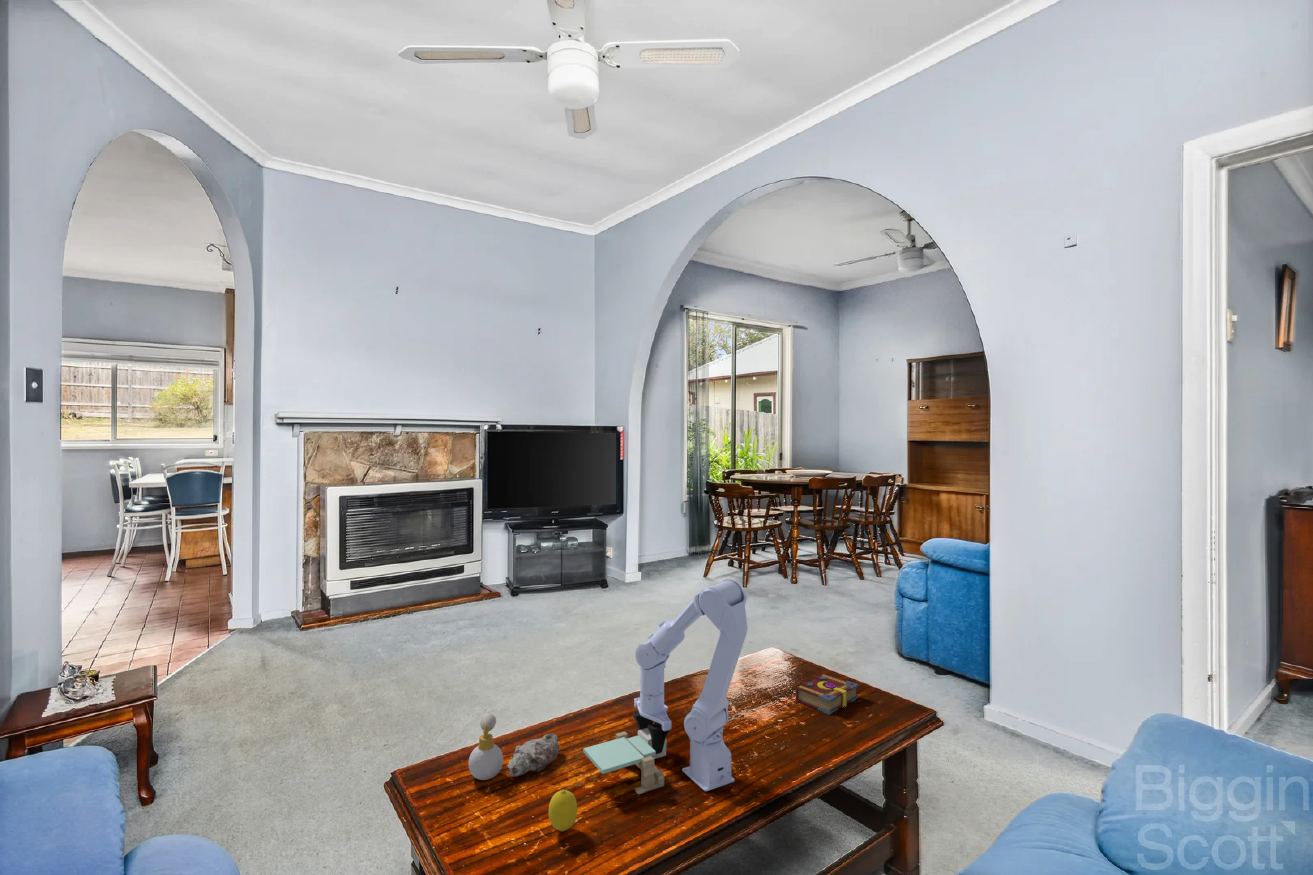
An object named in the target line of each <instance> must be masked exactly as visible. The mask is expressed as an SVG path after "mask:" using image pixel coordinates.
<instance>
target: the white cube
mask: <svg viewBox="0 0 1313 875" xmlns="http://www.w3.org/2000/svg"><path fill="white" fill-rule="evenodd" d="M637 736H640V737H641V738H642V739H643V740H644V741H645V742H646V743H647V744H648V745H649V746H650V747H652V740H651V735H650V732H649V730H648V728H646V729H642V730H639V729H638V730H637ZM665 756H667V739H666V740H665V743H664V747H663V751H662V753H659V754H656V755H654V760H655V759H659V758H662V757H665Z"/></svg>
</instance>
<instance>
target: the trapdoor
mask: <svg viewBox="0 0 1313 875" xmlns="http://www.w3.org/2000/svg"><path fill="white" fill-rule="evenodd" d="M582 749H583V750H582V751H583V752H582V753H583V754H585V756H586V757H587V758H588V759H589V760H590V761H591V762H592V763H593V765H594V766H595V767H596V768H597V769H598V771H599V772H600V773H601V774H602V775H603V774H608V773H610V772H614V771H617V770H620V769H624V768H626V767H630V766H633V765H636V764H637V763H640V762H642V759H643V758H646V757H649V756H652V757H653V758H654V755H656V751H655V750H654V749H653V748H652V747H650V746H649V745H648V744H647V743H646V742H645V741H644V740H643V739H642V738H641V737H640V736H638V735H635V736H632V737H628V739H626V738H625V737H622V738H619V739H616V738H615V739H613V740H609V741H604V742H602V743H601V742H600V743H598V744H595V745H591V746H588V747H584V748H582Z"/></svg>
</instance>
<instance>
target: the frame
mask: <svg viewBox="0 0 1313 875" xmlns="http://www.w3.org/2000/svg"><path fill="white" fill-rule="evenodd" d="M622 737H625V738H626V739H628V738H629V735H628V733H627V732H626V731H620V732H618V733H615V739H619V738H622ZM635 766H637V768H639V769H640V770H641V775H640V776H641V779H640V780H641V783H640V784H641V786H638V787H635V789H634V791H635V792H636V794H637V795H641V794H644V793H647V792H649V791H653V790H656V789H659V788H662V787H665V774H664V773H663V772H662V771H661V770H660V769H659V768H658V767H657V766H656V765H655V759H654V758H653V757H652V756H649V757H646V758H643V759H642V762H640V763H637V764H635Z"/></svg>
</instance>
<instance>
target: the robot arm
mask: <svg viewBox="0 0 1313 875" xmlns="http://www.w3.org/2000/svg"><path fill="white" fill-rule="evenodd" d="M747 599H748V597H747V595H746V593H745V591H744V590H743V587H742V586H741V584H740V583H739V582H737V580H735V579H732V578H726V579H725V580H723V581H722V582H719V583H717V584H714V585H711V586H707V587H705V588H702V590H700V592H699V593H697V594H696V595H694V597H693V598H692V600H691V601H690V602H689V603H688V604H687V605H686V606H685V608H684V609H683V610H682V611H681V612H680V613H679V614H678V615H677V617H675V619H674V620H672V619H671V620H670V619H669V620H666V621H665V620H664V621H662V622H660V623H659V624H658V627H659V628H658V629H657V630H656V631H655V632H654V633H652V634H650V635H649V636H648V640H647V641H646V642H644V643H640V644H638V646H637V648H636V650H635V654H634V655H635V660H636V662H637V664H638V666H640V670H639V674H640V677H639V678H640V680H639V693H640V694H639V697H635V698H634V700H633V703H634V704H633V706H634V708H636V709H637V711H635V712H633V713H632V716H633V718H634V720H635V722H636V725H637V728H638V730H642V729H646V728H648V730H649V732H650V735H651V740H652V748H653V749H654V750H655V751H656V754H659V753H662V751H663V747H664V743H665V740H666V741H667V736H668V734H669V732H670V731H671V730H672V726H673V725H672V720H671V719H670V718H669V716H668V714H667V711H668V709H669V707H668V706H667V705H666V704H665V668H666V663H667V661H668V659H669V657H670V654H671V653H672V652H674V650H675V649H676V648H678V646H679V645H680V644H681V643H682V642H683V641H684V639H685V636H686V635H685V631H686V630H688V628H690V626H692V625H693V624H694V623H695V622H697V620H698V619H700V617H702V616H706V617H707V618H708V619H709V621H711V623H712V624H713V625H714V626H715V627H716V628H717V630H719V636H718V640H717V642H716V643H717V644H716V647H715V649H714V653H713V656H712V659H711V662H710V666H709V668H708V672H707V675H706V679H705V682H704V684H703V688H702V691H701V693H700V695H699V697H698V698H697V700H696V701H694V702H695V703H693V705H692V708H691V710H690V712H689V713H688V714H686V715H685V717H684V721H683V726H684V730H685V733H686V734H687V737H688V739H689V740H690V741H689V747H690V748H689V765H688V766H686V767H683V768H682V770H681V771H682V773H684V774H685V775H686V776H687V777H689V778H690V779H691V781H693V782H694V784H696V785H697V787H698V786H699V788H700V789H702V790H703V791H704V792H708V791H711V790H714V789H716V788H720V787H723V786H726V785H729V784H731V783H735V778H734V777H733V776H732V752H731V750H730V749H729V747H727V745H726V744H725V742H724V741H725V740H724V738H723V732H724V726H726V724H727V723H728V721H729V711H728V710H729V705H730V701H729V700H728V699H727V695H728V692H729V688H730V686H731V683H732V680H733V677H734V673H735V671H736V667H737V664H738V661H739V658H740V655H741V652H742V649H743V647H744V646H743V645H744V644H745V640H746V637H747V633H748V621H747V613H746V612H747V611H746V603H747Z"/></svg>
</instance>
